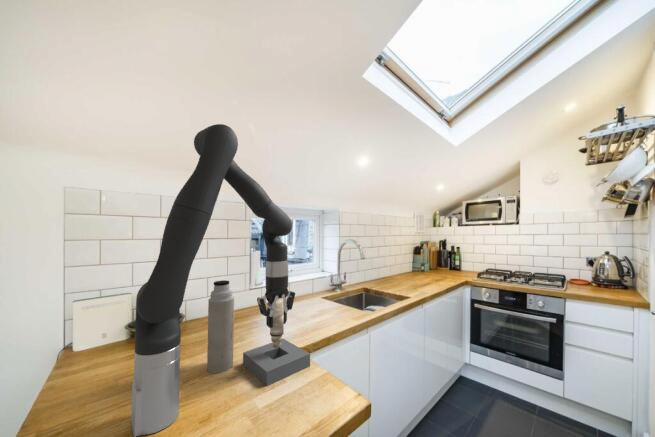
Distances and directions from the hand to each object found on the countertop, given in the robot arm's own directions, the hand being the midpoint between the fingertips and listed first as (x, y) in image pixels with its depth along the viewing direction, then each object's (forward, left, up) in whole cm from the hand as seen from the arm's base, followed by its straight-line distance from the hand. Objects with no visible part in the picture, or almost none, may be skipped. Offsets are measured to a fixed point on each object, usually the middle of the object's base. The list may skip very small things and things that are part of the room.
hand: (276, 325), depth 86 cm
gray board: (0, 0, -13) cm, 13 cm away
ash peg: (0, 0, -7) cm, 7 cm away
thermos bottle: (-14, +12, -13) cm, 23 cm away
